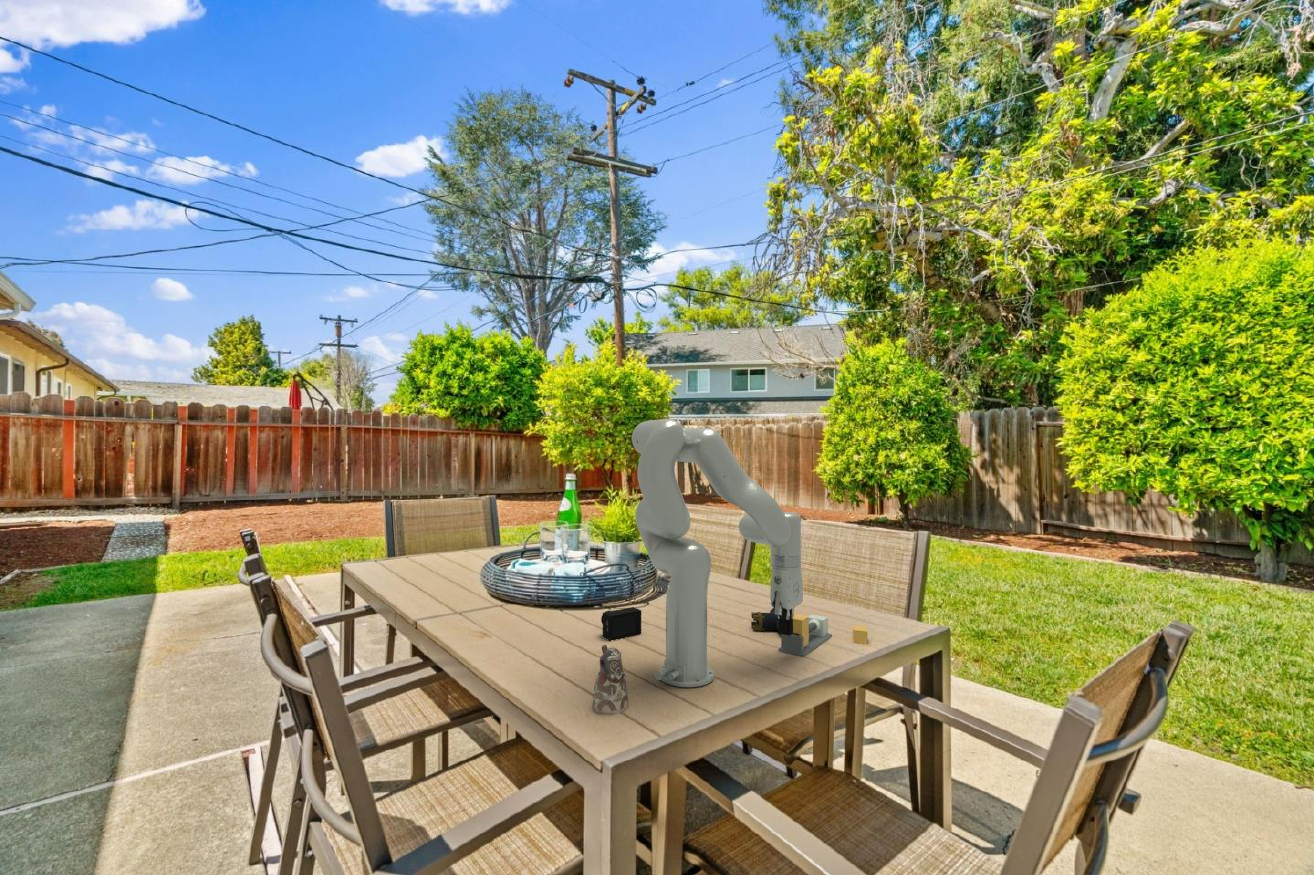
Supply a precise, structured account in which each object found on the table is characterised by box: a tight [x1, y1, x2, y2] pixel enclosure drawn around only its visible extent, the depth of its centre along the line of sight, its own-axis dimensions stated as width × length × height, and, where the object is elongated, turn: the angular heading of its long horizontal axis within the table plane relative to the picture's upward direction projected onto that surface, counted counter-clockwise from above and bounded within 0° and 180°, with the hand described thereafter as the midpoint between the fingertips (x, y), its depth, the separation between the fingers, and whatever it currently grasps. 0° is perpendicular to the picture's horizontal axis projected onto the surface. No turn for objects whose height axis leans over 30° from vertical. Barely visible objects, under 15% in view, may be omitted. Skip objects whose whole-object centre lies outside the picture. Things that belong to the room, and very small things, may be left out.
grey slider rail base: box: [778, 614, 833, 658], centre depth 158 cm, size 20×7×5 cm, turn 143°
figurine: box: [592, 644, 630, 715], centre depth 119 cm, size 7×7×12 cm
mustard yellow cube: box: [852, 625, 868, 644], centre depth 160 cm, size 4×4×4 cm
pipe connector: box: [750, 607, 779, 632], centre depth 170 cm, size 12×5×15 cm
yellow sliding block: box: [793, 613, 809, 647], centre depth 153 cm, size 4×4×7 cm
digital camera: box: [600, 606, 642, 642], centre depth 164 cm, size 10×5×7 cm, turn 126°
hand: (785, 633), depth 147 cm, fingers closed
